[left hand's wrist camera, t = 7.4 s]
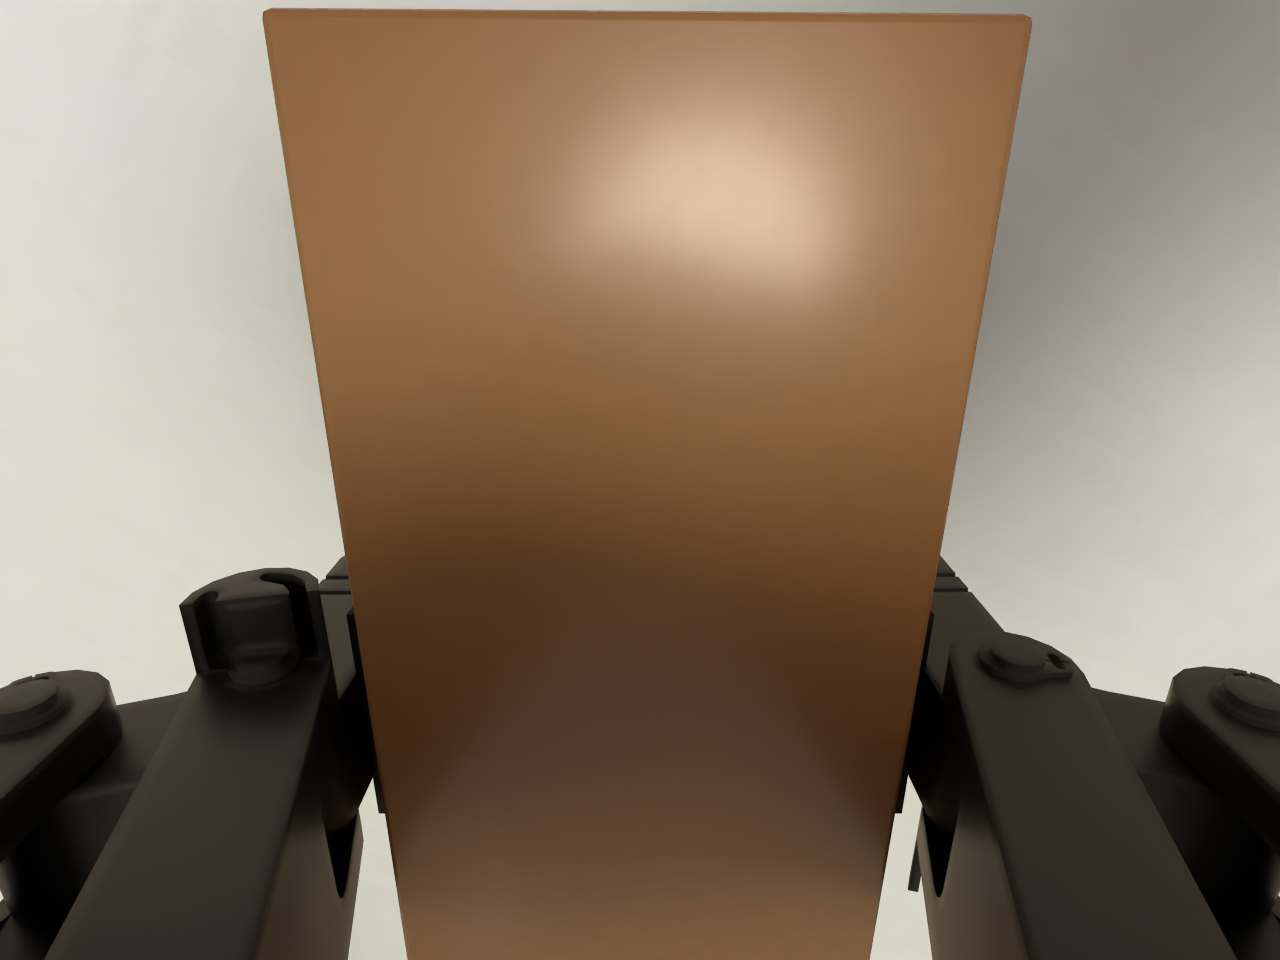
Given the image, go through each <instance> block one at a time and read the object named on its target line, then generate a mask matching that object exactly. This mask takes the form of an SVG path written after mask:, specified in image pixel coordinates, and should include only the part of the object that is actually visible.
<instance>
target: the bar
mask: <svg viewBox="0 0 1280 960" xmlns="http://www.w3.org/2000/svg"><path fill="white" fill-rule="evenodd" d="M263 25H264V32H265V38H266V45H267V51H268V58H269V64H270V71H271V77H272V84H273V90H274V96H275V103H276V109H277V116H278V122H279V129H280V135H281V142H282V148H283V155H284V161H285V168H286V174H287V181H288V187H289V194H290V200H291V207H292V213H293V220H294V226H295V233H296V239H297V246H298V252H299V258H300V265H301V271H302V278H303V284H304V291H305V297H306V304H307V310H308V317H309V323H310V330H311V336H312V343H313V349H314V356H315V362H316V369H317V375H318V382H319V388H320V395H321V401H322V407H323V414H324V420H325V427H326V433H327V440H328V446H329V453H330V459H331V466H332V472H333V479H334V485H335V492H336V498H337V505H338V511H339V518H340V524H341V531H342V537H343V544H344V550H345V557H346V563H347V569H348V576H349V582H350V589H351V595H352V602H353V608H354V615H355V621H356V628H357V634H358V641H359V647H360V654H361V660H362V667H363V673H364V680H365V686H366V693H367V699H368V706H369V712H370V718H371V725H372V731H373V738H374V744H375V751H376V757H377V764H378V770H379V777H380V783H381V790H382V796H383V803H384V809H385V816H386V822H387V829H388V835H389V842H390V848H391V855H392V861H393V868H394V874H395V880H396V887H397V893H398V900H399V906H400V913H401V919H402V926H403V932H404V939H405V945H406V952H407V958H408V960H870V954H871V948H872V942H873V937H874V931H875V925H876V919H877V914H878V908H879V902H880V896H881V891H882V885H883V879H884V873H885V868H886V862H887V856H888V850H889V844H890V839H891V833H892V827H893V821H894V816H895V810H896V804H897V798H898V793H899V787H900V781H901V775H902V770H903V764H904V758H905V752H906V747H907V741H908V735H909V729H910V724H911V718H912V712H913V706H914V701H915V695H916V689H917V683H918V678H919V672H920V666H921V660H922V655H923V649H924V643H925V637H926V632H927V626H928V620H929V614H930V609H931V603H932V597H933V591H934V586H935V580H936V574H937V568H938V563H939V557H940V551H941V545H942V540H943V534H944V528H945V522H946V517H947V511H948V505H949V499H950V494H951V488H952V482H953V476H954V471H955V465H956V459H957V453H958V448H959V442H960V436H961V430H962V424H963V419H964V413H965V407H966V401H967V396H968V390H969V384H970V378H971V373H972V367H973V361H974V355H975V350H976V344H977V338H978V332H979V327H980V321H981V315H982V309H983V304H984V298H985V292H986V286H987V281H988V275H989V269H990V263H991V258H992V252H993V246H994V240H995V235H996V229H997V223H998V217H999V212H1000V206H1001V200H1002V194H1003V189H1004V183H1005V177H1006V171H1007V166H1008V160H1009V154H1010V148H1011V143H1012V137H1013V131H1014V125H1015V120H1016V114H1017V108H1018V102H1019V97H1020V91H1021V85H1022V79H1023V74H1024V68H1025V62H1026V56H1027V51H1028V45H1029V39H1030V33H1031V28H1032V21H1031V18H1030V17H1028V16H1026V15H1024V14H956V13H833V12H710V11H587V10H464V9H341V8H271V9H268V10H266V11H264V12H263Z"/></svg>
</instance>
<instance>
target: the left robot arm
mask: <svg viewBox="0 0 1280 960" xmlns="http://www.w3.org/2000/svg"><path fill="white" fill-rule="evenodd" d="M179 607H180V611H181V615H182V619H183V623H184V627H185V631H186V635H187V638H188V642H189V646H190V650H191V654H192V658H193V662H194V666H195V670H196V673H197V674H196V676H195V678H194V680H193V682H192V684H191V686H190V688H189V689H188V691H187V692H183V693H179V694H175V695H169V696H164V697H159V698H154V699H148V700H143V701H138V702H132V703H127V704H122V705H116V702H115V699H114V696H113V693H112V689H111V686H110V683H109V681H108V680H107V679H106V678H104V677H103V676H102V675H100V674H99V673H97V672H90V671H83V670H70V671H60V672H47V673H42V674H37V675H35V677H32V676H29V677H26V678H22V679H19V680H16V681H14V682H12V683H11V684H10V685H8V686H6V687H3V688H1V689H0V890H1V893H2V895H3V898H4V899H3V900H2V901H1V902H0V960H348V953H349V945H350V938H351V930H352V923H353V916H354V908H355V901H356V893H357V886H358V878H359V871H360V863H361V856H362V848H363V833H362V826H361V820H360V815H359V809H358V808H359V806H360V804H361V802H362V799H363V797H364V795H365V793H366V791H367V789H368V787H369V784H370V782H371V780H372V778H373V780H374V787H375V793H376V799H377V805H378V811H379V813H385V809H384V803H383V796H382V790H381V783H380V777H379V770H378V764H377V757H376V751H375V744H374V738H373V731H372V725H371V718H370V712H369V706H368V699H367V693H366V686H365V680H364V673H363V667H362V660H361V654H360V647H359V641H358V634H357V628H356V621H355V615H354V608H353V602H352V595H351V589H350V582H349V576H348V569H347V563H346V557H345V556H343V557H342V558H341V559H340V560H339V561H338V562H337V563H336V564H335V566H334V567H333V568H332V569H331V570H330V572H329V573H328V574H327V575H326V580H322V581H321V582H320V584H319V583H318V579H317V578H315V577H314V576H313V575H311V574H310V573H308V572H307V571H302V570H297V569H292V568H264V569H258V570H253V571H247V572H241V573H237V574H234V575H231V576H228V577H225V578H222V579H219V580H216V581H213V582H211V583H210V584H208V585H206V586H204V587H202V588H200V589H198V590H196V591H195V592H193V593H192V594H191V595H189V596H188V597H187V598H186V599H185V600H184V601H183V602H182V603H181V604H180V605H179ZM908 775H909V777H910V779H911V781H912V784H913V786H914V788H915V790H916V792H917V794H918V796H919V799H920V801H921V803H922V809H921V815H920V820H919V826H918V832H917V837H916V843H915V848H914V854H913V860H912V865H911V871H910V877H909V885H908V890H910V891H915V892H918V889H919V883H920V878H921V877H922V884H923V891H924V899H925V906H926V914H927V921H928V929H929V936H930V944H931V951H932V958H933V960H1280V897H1279V896H1278V895H1279V892H1280V684H1278V683H1275V682H1273V681H1272V680H1271V679H1269V678H1267V677H1265V676H1261V675H1258V674H1255V673H1251V672H1250V674H1248V673H1247V671H1243V670H1238V669H1233V668H1229V669H1225V668H1216V667H1206V666H1203V667H1196V668H1189V669H1184V670H1182V671H1181V672H1180V673H1178V674H1177V675H1176V676H1174V677H1173V679H1172V682H1171V685H1170V689H1169V692H1168V695H1167V698H1166V702H1161V701H1156V700H1150V699H1145V698H1140V697H1134V696H1129V695H1124V694H1118V693H1113V692H1108V691H1103V690H1099V689H1095V688H1091V686H1090V684H1089V682H1088V681H1087V679H1086V677H1085V675H1084V673H1083V672H1082V671H1081V670H1080V669H1079V667H1078V666H1077V665H1076V664H1075V663H1074V662H1073V661H1072V659H1070V658H1069V657H1067V656H1066V655H1064V654H1063V653H1061V652H1059V651H1058V650H1056V649H1055V648H1053V647H1052V646H1049V645H1047V644H1044V643H1042V642H1039V641H1037V640H1034V639H1032V638H1029V637H1026V636H1021V635H1017V634H1012V633H1007V632H1004V630H1003V629H1002V628H1001V627H1000V626H999V624H998V623H997V622H996V621H995V620H994V619H993V617H992V616H991V615H990V614H989V613H988V611H987V610H986V609H985V608H984V607H983V606H982V604H981V603H980V602H979V601H978V600H977V598H976V597H975V596H974V595H973V594H972V593H971V592H968V588H967V587H966V585H965V584H964V583H963V582H962V581H961V580H960V578H959V577H955V572H954V571H953V570H952V569H951V568H950V567H949V565H948V564H947V563H946V562H945V561H944V559H943V558H942V557H941V556H940V557H939V563H938V568H937V574H936V580H935V586H934V591H933V597H932V603H931V609H930V614H929V620H928V626H927V632H926V637H925V643H924V649H923V655H922V660H921V666H920V672H919V678H918V683H917V689H916V695H915V701H914V706H913V712H912V718H911V724H910V729H909V735H908V741H907V747H906V752H905V758H904V764H903V770H902V775H901V781H900V787H899V793H898V798H897V804H896V810H895V813H902V808H903V802H904V796H905V790H906V784H907V778H908Z"/></svg>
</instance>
